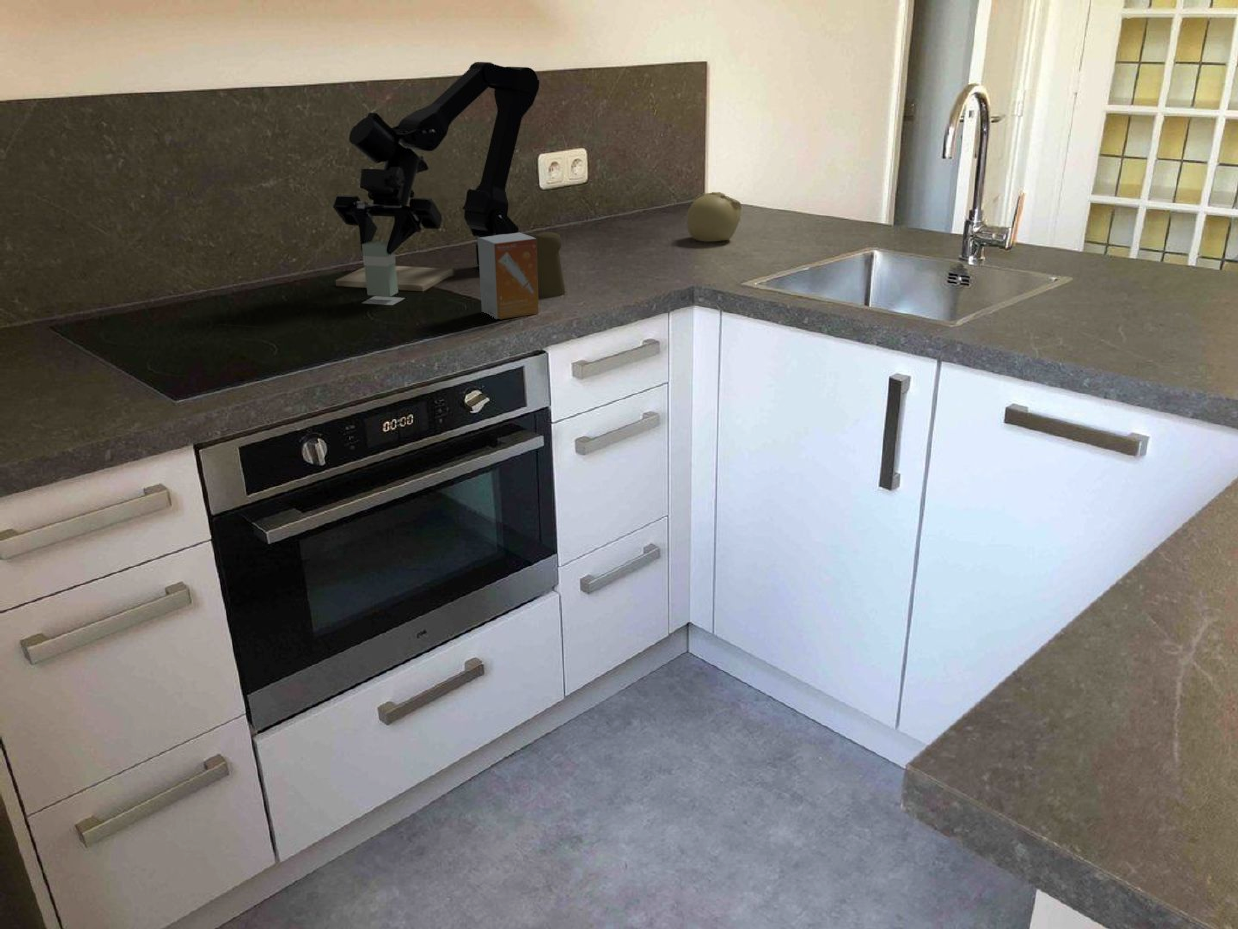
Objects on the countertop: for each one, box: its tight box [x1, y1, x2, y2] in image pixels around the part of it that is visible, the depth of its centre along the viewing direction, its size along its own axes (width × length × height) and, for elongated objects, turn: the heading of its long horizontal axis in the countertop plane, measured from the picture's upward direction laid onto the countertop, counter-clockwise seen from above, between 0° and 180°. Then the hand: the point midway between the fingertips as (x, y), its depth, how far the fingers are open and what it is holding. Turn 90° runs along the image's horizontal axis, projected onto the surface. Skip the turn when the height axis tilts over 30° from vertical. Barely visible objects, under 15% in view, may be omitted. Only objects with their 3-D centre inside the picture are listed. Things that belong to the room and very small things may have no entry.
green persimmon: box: [686, 191, 742, 243], centre depth 224 cm, size 11×12×11 cm
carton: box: [362, 240, 399, 297], centre depth 175 cm, size 5×3×9 cm
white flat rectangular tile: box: [361, 295, 405, 306], centre depth 178 cm, size 6×5×1 cm
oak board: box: [334, 265, 454, 292], centre depth 192 cm, size 18×14×1 cm
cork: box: [534, 231, 566, 298], centre depth 181 cm, size 6×6×11 cm
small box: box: [477, 231, 540, 320], centre depth 168 cm, size 8×6×13 cm
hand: (375, 252), depth 173 cm, fingers closed on carton, 4 cm apart
